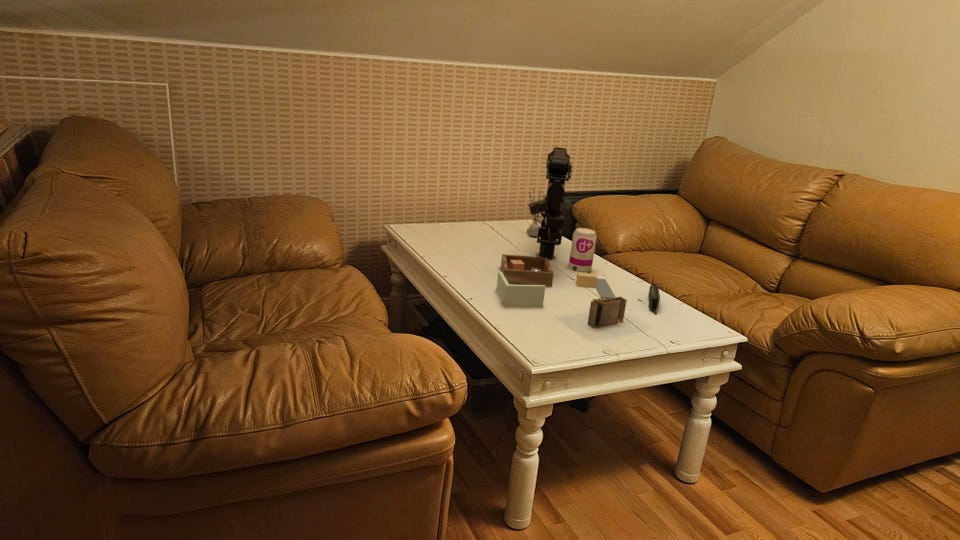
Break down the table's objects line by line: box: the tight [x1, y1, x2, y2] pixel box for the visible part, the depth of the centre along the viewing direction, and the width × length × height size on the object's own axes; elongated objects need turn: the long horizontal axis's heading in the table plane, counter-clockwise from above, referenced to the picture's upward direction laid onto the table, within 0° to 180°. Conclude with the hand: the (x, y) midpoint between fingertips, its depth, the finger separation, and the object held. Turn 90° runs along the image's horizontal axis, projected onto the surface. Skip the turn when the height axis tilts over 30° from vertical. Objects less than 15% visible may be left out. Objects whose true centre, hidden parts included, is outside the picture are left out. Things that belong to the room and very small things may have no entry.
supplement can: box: [568, 227, 597, 274], centre depth 215 cm, size 8×8×15 cm
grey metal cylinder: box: [531, 267, 542, 272], centre depth 201 cm, size 4×4×4 cm
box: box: [500, 253, 554, 288], centre depth 203 cm, size 16×16×6 cm
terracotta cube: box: [509, 260, 525, 270], centre depth 206 cm, size 4×4×4 cm
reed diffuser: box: [526, 188, 545, 237], centre depth 250 cm, size 10×7×20 cm
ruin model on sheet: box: [586, 296, 627, 329], centre depth 174 cm, size 11×3×10 cm, turn 120°
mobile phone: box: [647, 284, 661, 315], centre depth 191 cm, size 5×3×15 cm
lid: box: [575, 272, 616, 299], centre depth 201 cm, size 17×17×5 cm
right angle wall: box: [496, 270, 546, 309], centre depth 186 cm, size 12×12×8 cm
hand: (549, 238), depth 210 cm, fingers open, 9 cm apart
